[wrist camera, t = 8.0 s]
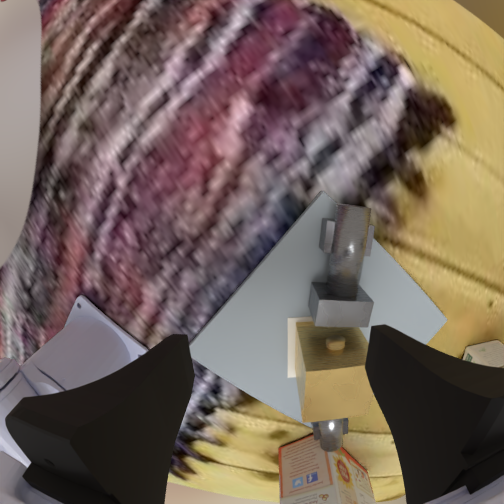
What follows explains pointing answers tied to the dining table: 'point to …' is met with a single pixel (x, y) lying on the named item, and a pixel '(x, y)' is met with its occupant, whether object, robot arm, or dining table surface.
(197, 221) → the dining table surface
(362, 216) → the shaft
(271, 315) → the board
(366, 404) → the tan block
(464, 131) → the dining table surface
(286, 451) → the cracker box
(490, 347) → the syrup box
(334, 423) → the shaft
